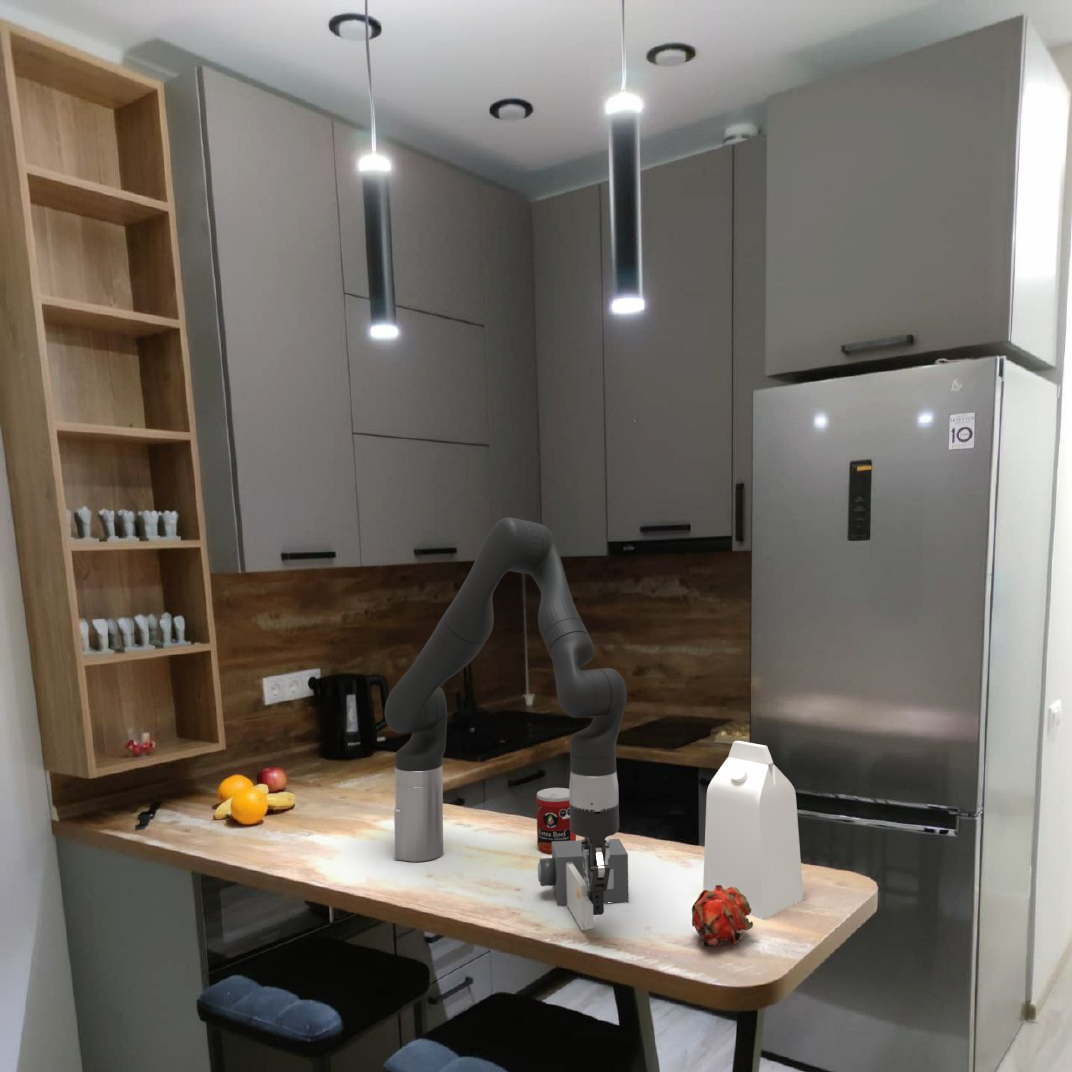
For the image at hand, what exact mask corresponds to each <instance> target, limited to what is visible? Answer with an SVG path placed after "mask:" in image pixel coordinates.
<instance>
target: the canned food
mask: <svg viewBox="0 0 1072 1072" xmlns="http://www.w3.org/2000/svg"><path fill="white" fill-rule="evenodd" d="M536 835H537V836H536V837H537V838H536V841H537V842H536V843H537V849H538V850H539V851H540V852H541V853H542V854H545V853H546V855H551V854H552V842H554V841H577V835H576V834H574V833H573V832H572V831H571V829H570V797H569V788H565V787H549V788H544V789H541V790H539V791H537V793H536Z"/></svg>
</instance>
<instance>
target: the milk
mask: <svg viewBox="0 0 1072 1072" xmlns="http://www.w3.org/2000/svg"><path fill="white" fill-rule="evenodd" d="M730 747H731V748H730V750H729V754H728V757H727V758H726V759H725V761H724V762H723V763H722V765H721V766H720V768H719V769H718V771H717V772H716V773H715V775H714V776H713V777H712V779H711V781H710V783H709V784H708V787H707V790H706V804H705V805H706V806H705V831H704V832H705V833H704V855H703V857H704V858H703V862H704V863H703V880H702V881H703V883H702V884H703V886H702V891H704V890H708V891H714V890H715V886H716V885H721V886H722V887H723V888H724V889H725V890H726V889H727V888H730V887H735V888H737V889H738V890H739V891H740V893H741V894H743V895H744V896H745V897H746V899H747V901H748V903H749V907H750V908H751V913H750V914H749V915H748V916H752V917H754V918H757V919H760V920H766V919H768V918H770V917H772V916H774V915H776V914H778V913H780V912H782V911H784V910H786V909H785V908H787V909H788V907H789V908H791V907H792V905H793V904H795V903H796V902H799V901H801V900H803V899H804V889H803V875H802V861H801V848H800V847H801V846H800V834H799V821H798V820H799V819H798V808H797V795H796V789H795V787H794V786H793V784H792V783H791V781H790V780H789V778H787V777H786V776H785V774H783V772H782V771H781V770H780V769H779V768H778V767H777V766H776V765H775V764H774V761H773V758H772V755H771V753H770V751H769V748H768V745H764V744H758V743H753V742H749V741H743V740H742V741H741V740H735V741H733V742H732V745H731V746H730ZM803 901H804V900H803ZM801 902H802V901H801ZM799 903H800V902H799ZM795 905H796V904H795ZM790 906H791V907H790ZM793 906H794V905H793ZM783 909H784V910H783ZM775 913H776V914H775Z"/></svg>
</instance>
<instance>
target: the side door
mask: <svg viewBox="0 0 1072 1072" xmlns="http://www.w3.org/2000/svg"><path fill="white" fill-rule="evenodd" d="M565 906H567V907H568V909H569V911H570V912H571V914H572V916H573V917H574V920H575V921H576V923H577V924H578V926H579V928H580V930H581V931H588V930H590V929H594V915H593V903H592V902H591V900H589V898H588V896H587V885H586V883H585V881H584V880H583V878H582V877H581V875H580V874H579V872H578V871H577V869H576V868H575V866H574V865H573V862H566V905H565Z"/></svg>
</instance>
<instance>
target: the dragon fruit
mask: <svg viewBox="0 0 1072 1072" xmlns="http://www.w3.org/2000/svg"><path fill="white" fill-rule="evenodd" d="M691 913H692V914H691V915H692V918H691V926H692V928H693V927H694V929H695V931H696V932H697V934H698V935H699V937H702V942H703V946H704V947H705V948H706V947H707V946H717V947H718V946H720V945H723V943H724V941H728V943H729V944H730V945H732V946H735V945H736V944H738V943H739V942H740V941H741V939H742V937H743V936H744V935H745V933H744V932H743V931H749V930H751V929H752V928H753V927H754V926H753V925H754V923H753V921H750V920H749V918H748V917H747V916H750V915H749V914H750V913H751V908H750V907H749V903H748V901H747V899H746V897H745V896H744V895H743V894H741V893H740V891H739V890H738V889H737V888H735V887H730V888H727V889H726V890H725V889H724V888H723V887H722V886H721V885H716V886H715V890H714V891H708V890H704V891H703V890H702V891H701V893H700V894H699V895H698V897H697V899H696V900H695V902H694V904H692V907H691Z"/></svg>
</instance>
